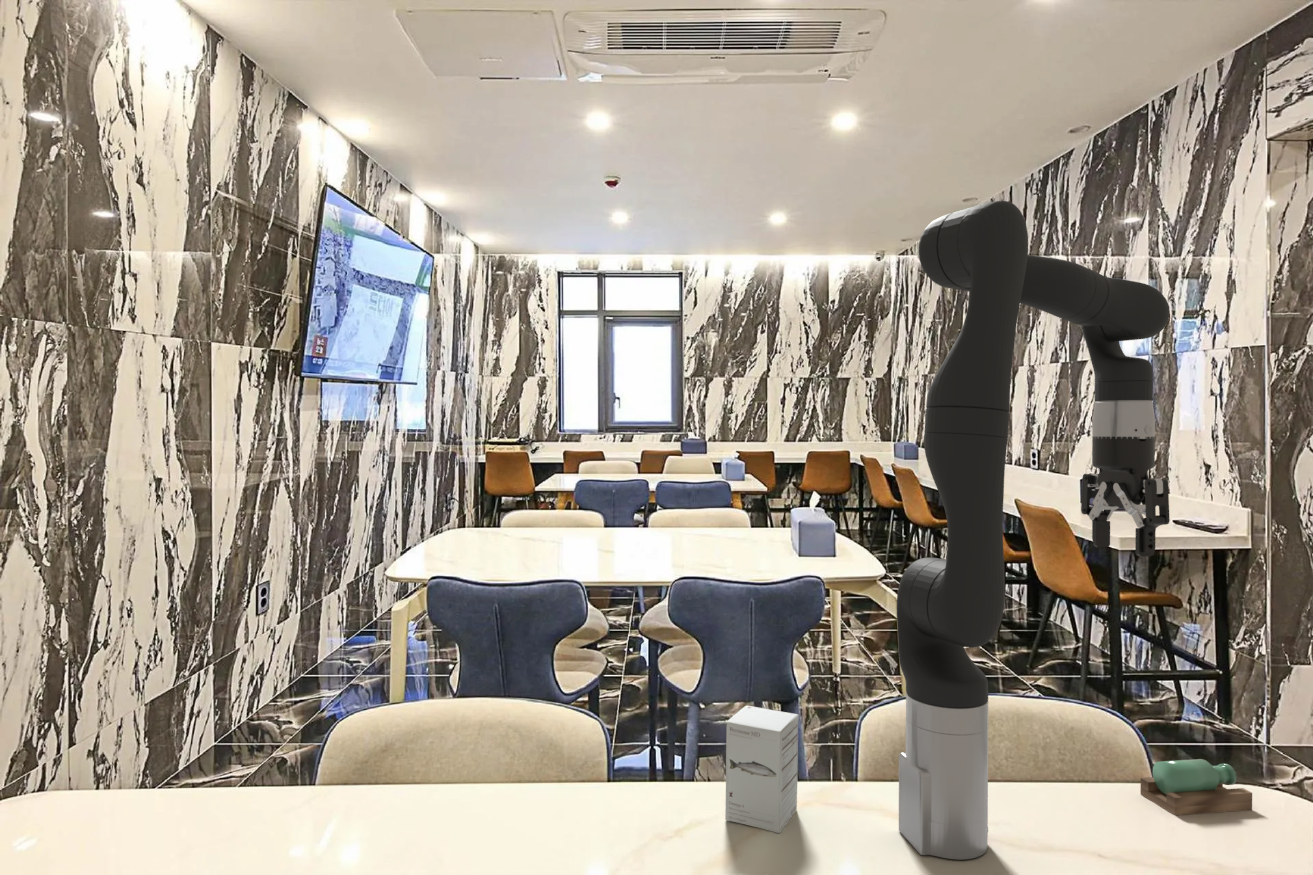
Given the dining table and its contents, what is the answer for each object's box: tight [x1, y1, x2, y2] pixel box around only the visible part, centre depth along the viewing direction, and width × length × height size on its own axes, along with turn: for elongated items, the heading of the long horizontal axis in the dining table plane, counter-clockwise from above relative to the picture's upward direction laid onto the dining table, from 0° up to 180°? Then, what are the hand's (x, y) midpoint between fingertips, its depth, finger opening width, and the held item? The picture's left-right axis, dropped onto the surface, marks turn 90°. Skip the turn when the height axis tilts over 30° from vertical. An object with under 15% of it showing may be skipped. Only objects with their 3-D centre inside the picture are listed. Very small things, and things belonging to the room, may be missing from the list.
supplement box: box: [724, 705, 800, 834], centre depth 103 cm, size 7×7×13 cm
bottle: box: [1152, 758, 1238, 794], centre depth 107 cm, size 9×4×4 cm, turn 98°
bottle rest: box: [1140, 776, 1253, 816], centre depth 107 cm, size 11×6×2 cm, turn 98°
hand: (1122, 551), depth 112 cm, fingers open, 8 cm apart
